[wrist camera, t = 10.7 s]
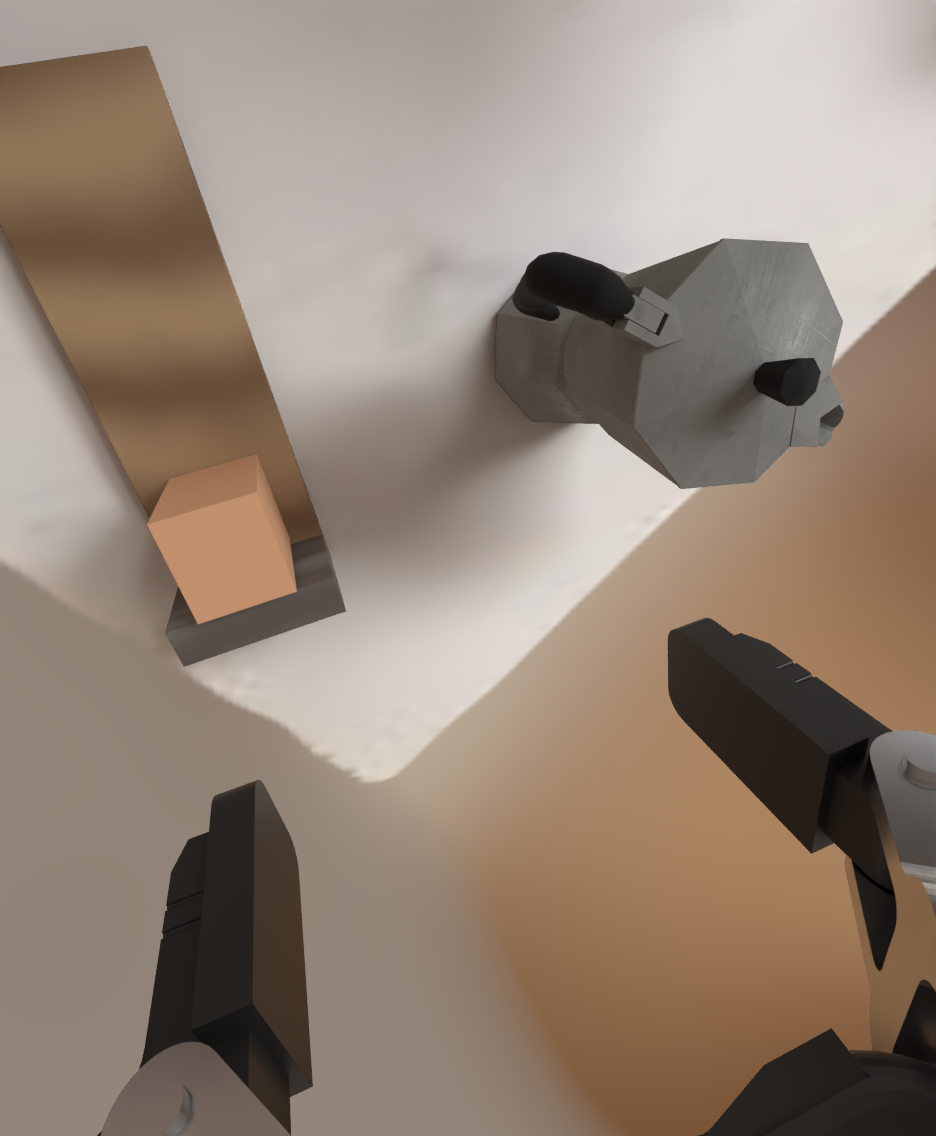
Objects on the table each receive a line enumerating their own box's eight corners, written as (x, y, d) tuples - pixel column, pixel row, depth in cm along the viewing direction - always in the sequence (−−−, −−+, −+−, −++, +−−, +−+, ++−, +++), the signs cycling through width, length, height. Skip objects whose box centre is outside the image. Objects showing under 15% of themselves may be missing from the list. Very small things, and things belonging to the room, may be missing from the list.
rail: (-60, 87, 23) (-179, 8, 17) (151, 56, 24) (115, -27, 18) (197, 599, 34) (183, 666, 28) (330, 556, 36) (345, 611, 29)
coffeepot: (678, 313, 36) (992, 324, 21) (611, 455, 39) (846, 558, 23) (461, 185, 30) (684, 61, 14) (398, 366, 32) (528, 427, 17)
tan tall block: (169, 478, 30) (146, 524, 24) (256, 453, 31) (256, 492, 25) (209, 563, 32) (197, 624, 26) (289, 537, 33) (296, 591, 27)
